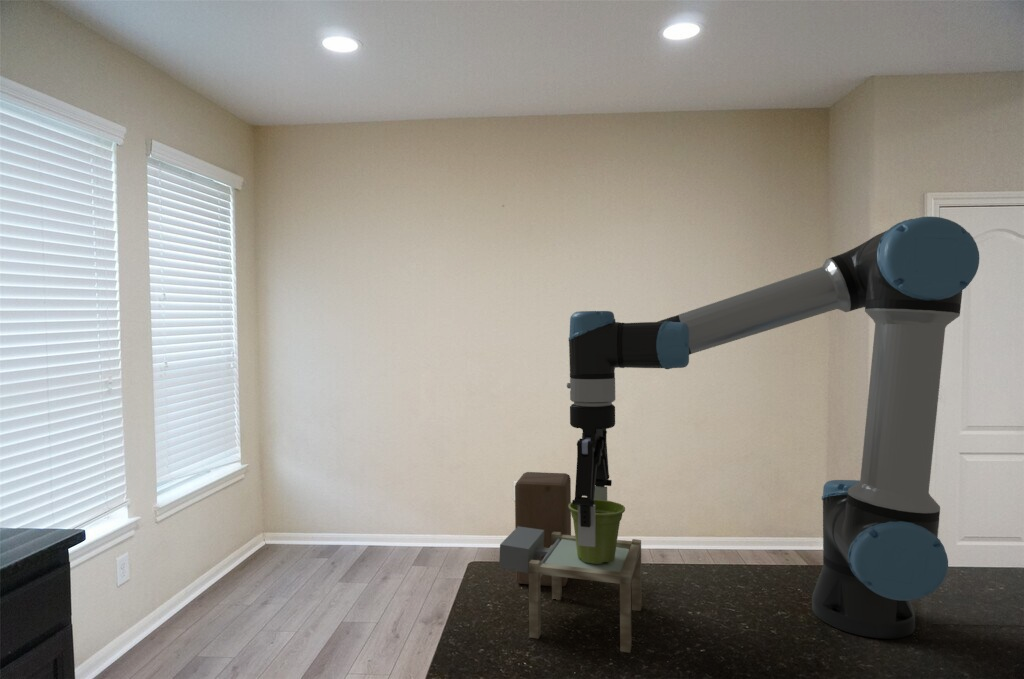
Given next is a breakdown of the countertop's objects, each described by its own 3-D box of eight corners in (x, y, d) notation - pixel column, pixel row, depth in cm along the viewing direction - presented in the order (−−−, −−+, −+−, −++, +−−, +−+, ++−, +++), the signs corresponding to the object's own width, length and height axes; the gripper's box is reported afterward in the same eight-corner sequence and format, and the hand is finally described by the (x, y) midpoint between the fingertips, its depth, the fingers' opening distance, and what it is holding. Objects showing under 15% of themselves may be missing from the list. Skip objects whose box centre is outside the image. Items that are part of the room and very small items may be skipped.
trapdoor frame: (641, 607, 108) (641, 539, 108) (630, 652, 93) (629, 574, 92) (553, 595, 113) (553, 531, 113) (529, 637, 98) (528, 562, 97)
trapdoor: (628, 562, 107) (629, 540, 106) (618, 591, 95) (619, 566, 95) (519, 545, 113) (519, 524, 113) (496, 570, 101) (497, 546, 101)
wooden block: (566, 589, 116) (565, 484, 115) (514, 585, 118) (513, 482, 117) (571, 569, 125) (571, 472, 125) (524, 565, 127) (523, 470, 127)
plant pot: (560, 563, 99) (561, 509, 99) (575, 545, 107) (576, 496, 107) (617, 572, 95) (618, 516, 95) (628, 553, 104) (630, 502, 104)
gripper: (584, 395, 114) (585, 512, 114) (553, 411, 92) (554, 556, 92) (624, 396, 112) (625, 515, 112) (602, 412, 90) (604, 561, 90)
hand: (593, 534), depth 102 cm, fingers open, 11 cm apart
